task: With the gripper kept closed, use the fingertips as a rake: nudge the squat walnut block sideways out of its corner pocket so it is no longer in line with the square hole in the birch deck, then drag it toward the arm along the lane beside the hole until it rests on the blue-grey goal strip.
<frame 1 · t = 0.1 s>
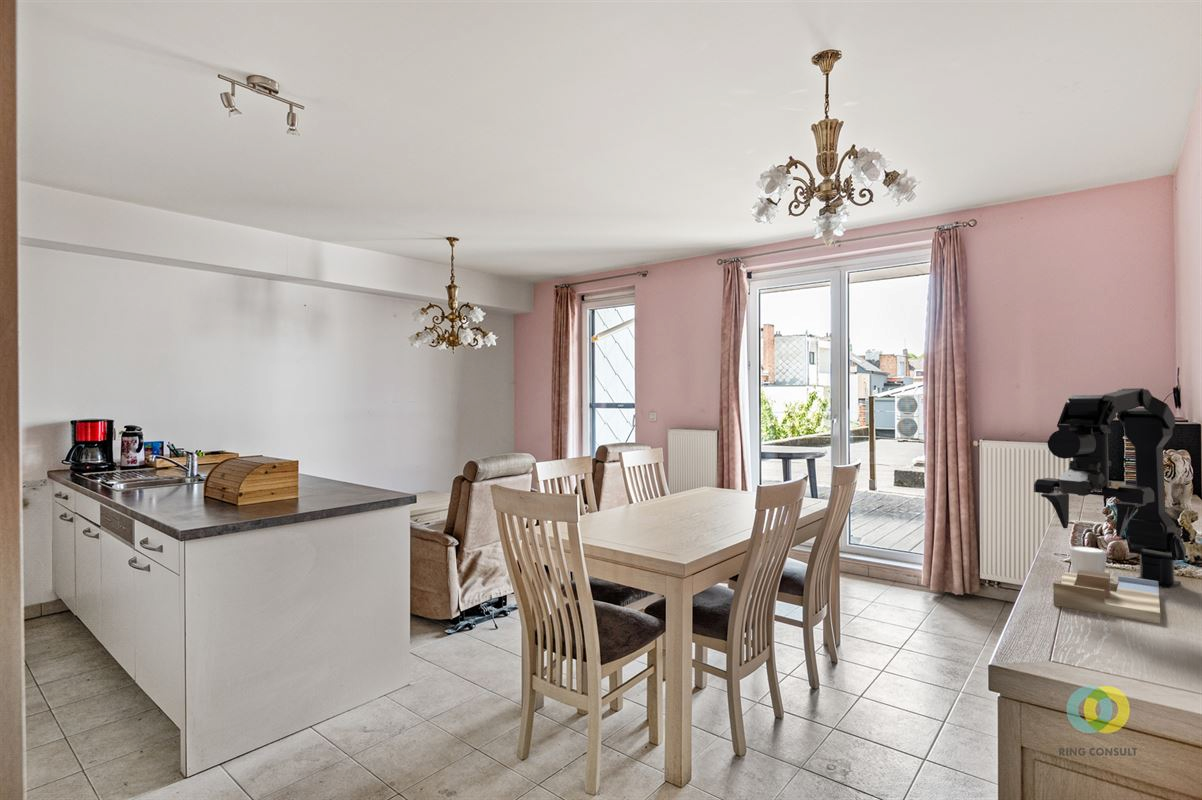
hand: (1091, 532, 125), 15 cm above the sideboard, fingers open, 9 cm apart
birch deck: (1107, 599, 127), on the sideboard
walnut block: (1093, 593, 125), point 2 cm above the sideboard, touching birch deck
goal strip: (1138, 595, 129), on the sideboard
white cylinder: (1088, 580, 141), on the sideboard
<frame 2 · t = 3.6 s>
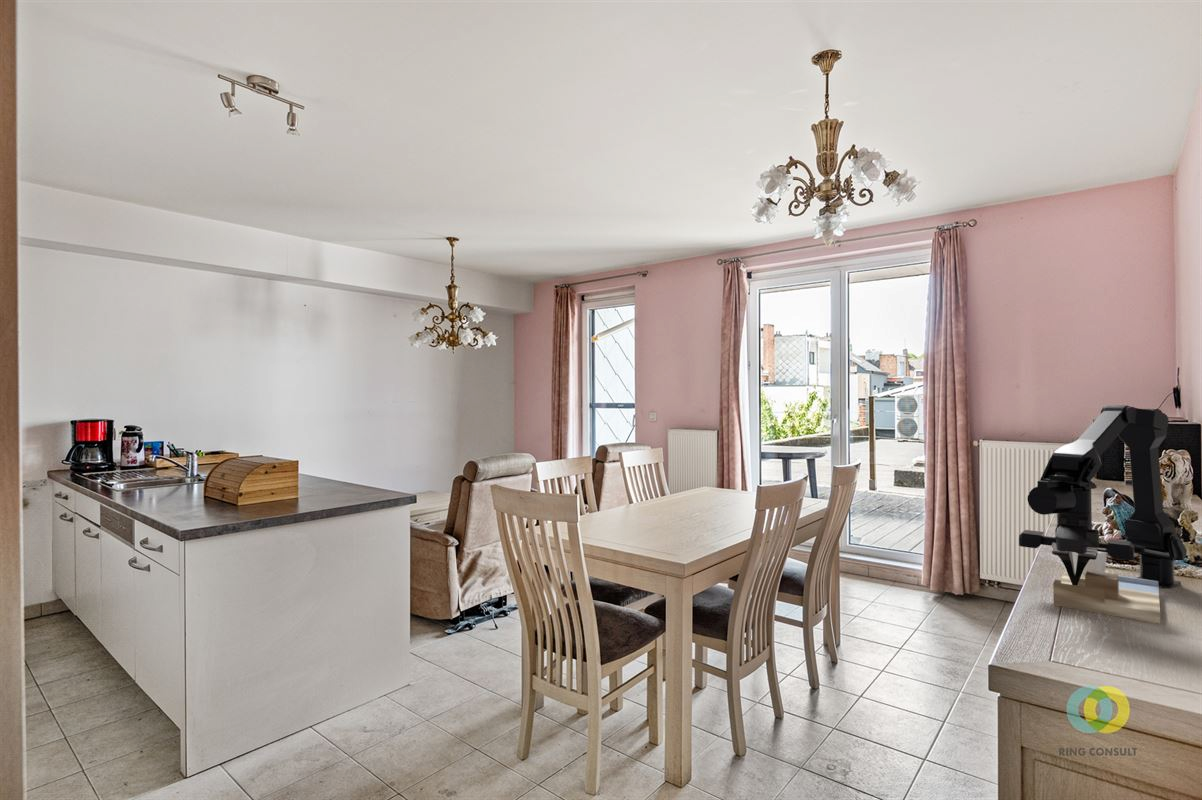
hand: (1075, 585, 127), 3 cm above the sideboard, fingers closed
walnut block: (1102, 594, 124), point 2 cm above the sideboard, touching birch deck, gripper
everything else where it was.
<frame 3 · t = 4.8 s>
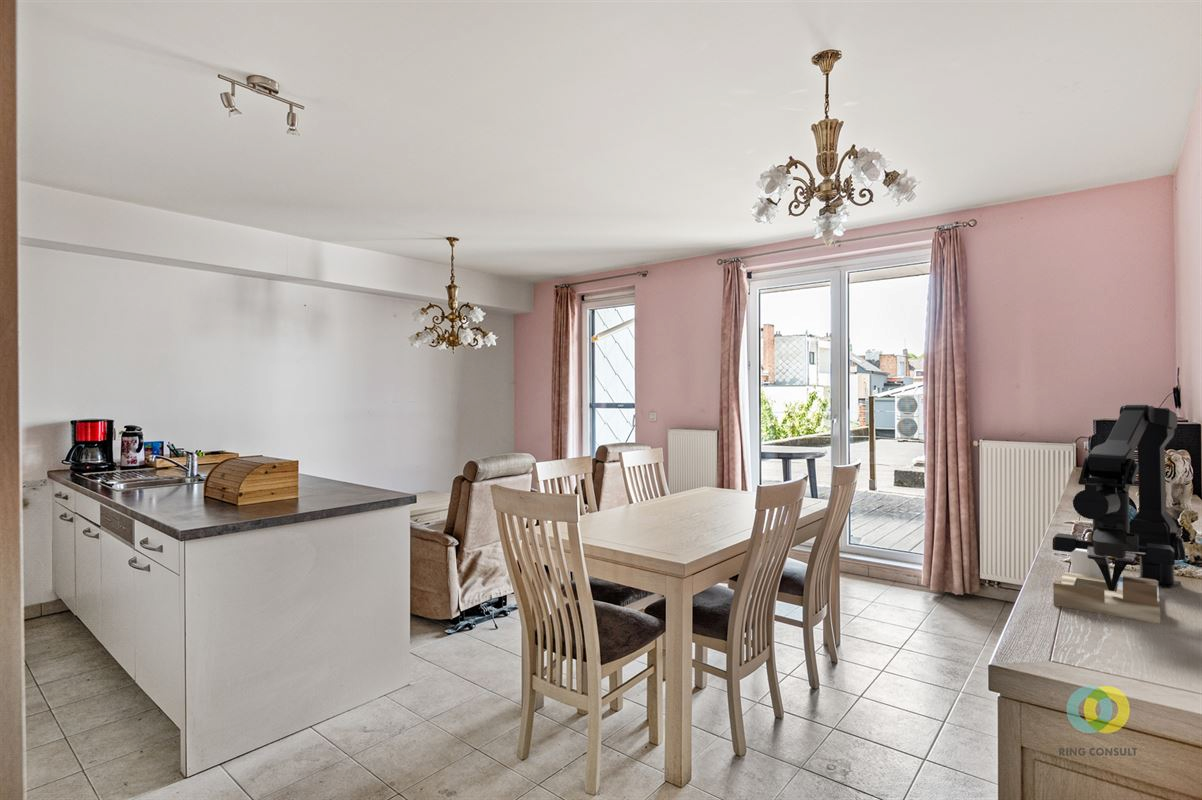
hand: (1111, 590, 123), 3 cm above the sideboard, fingers closed
walnut block: (1140, 600, 120), point 2 cm above the sideboard, touching birch deck, gripper
everything else where it was.
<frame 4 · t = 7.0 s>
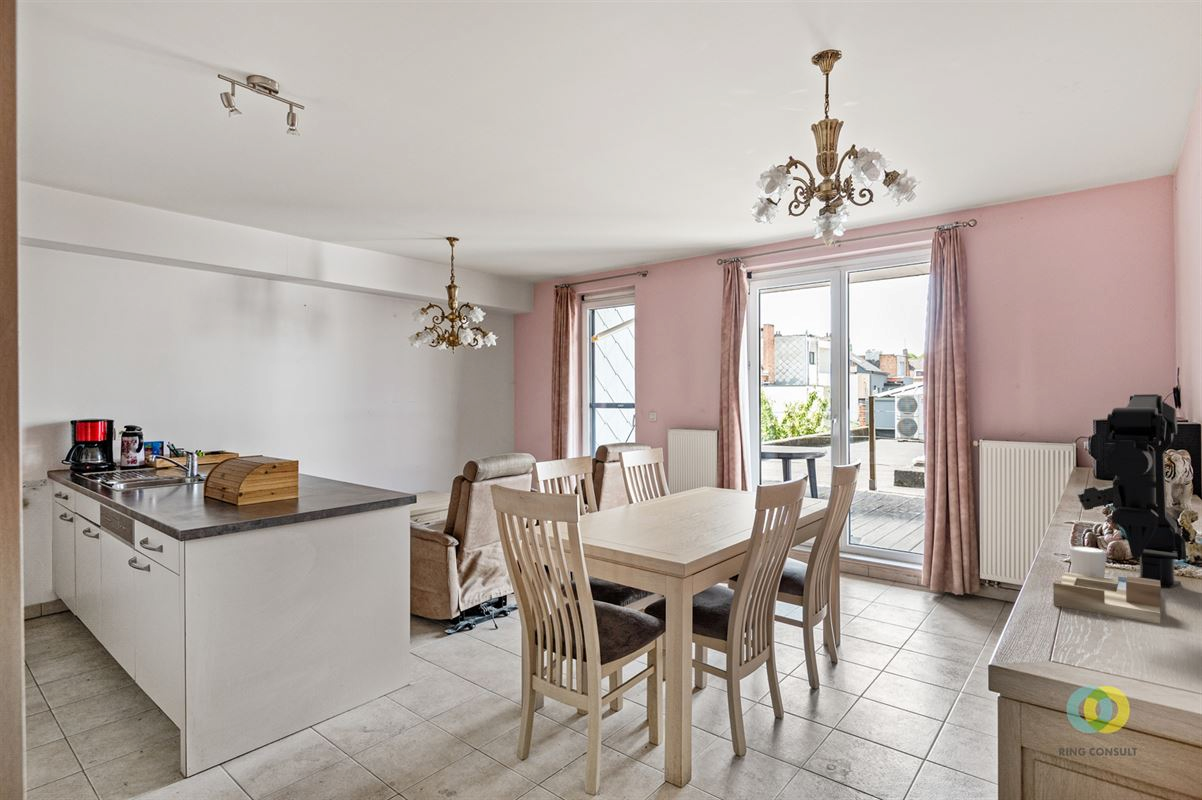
hand: (1136, 557, 114), 12 cm above the sideboard, fingers closed
walnut block: (1143, 601, 120), point 2 cm above the sideboard, touching birch deck
everything else where it was.
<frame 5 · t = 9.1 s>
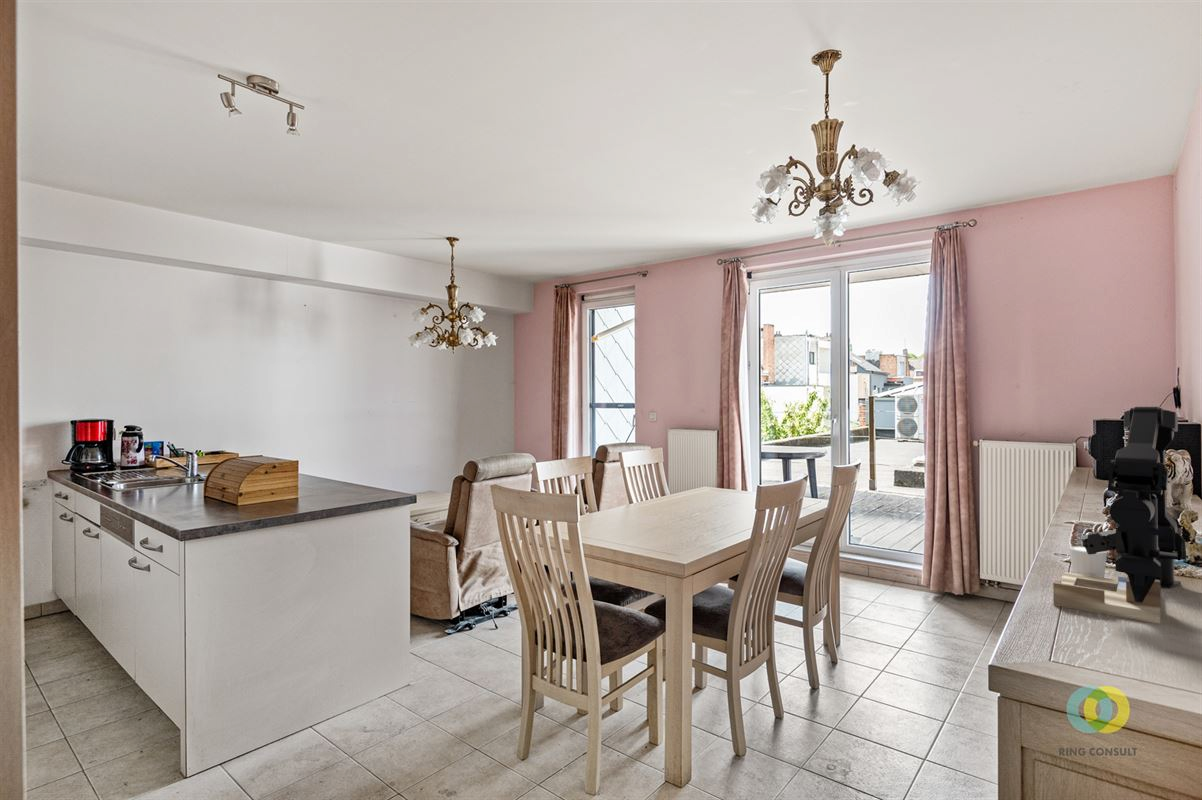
hand: (1138, 601, 117), 3 cm above the sideboard, fingers closed
walnut block: (1143, 601, 120), point 2 cm above the sideboard, touching birch deck, gripper
everything else where it was.
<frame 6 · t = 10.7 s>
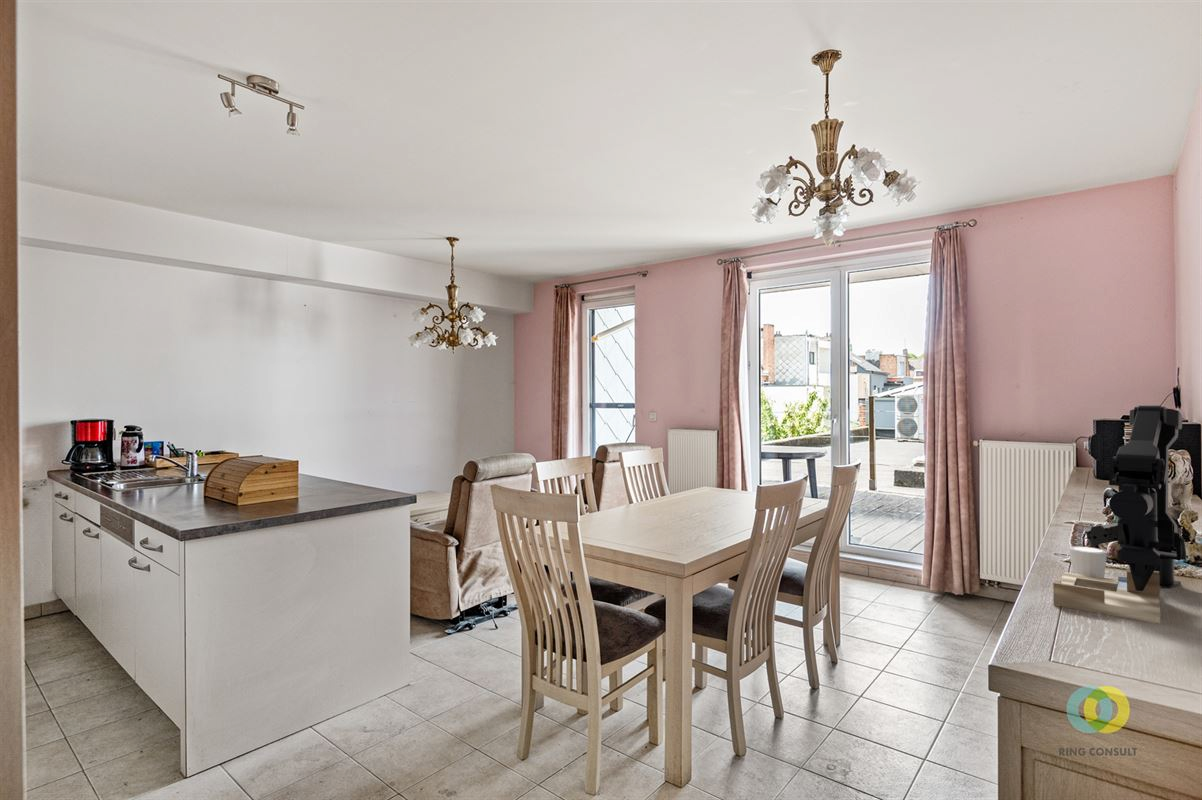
hand: (1139, 590, 123), 3 cm above the sideboard, fingers closed
walnut block: (1143, 590, 126), point 2 cm above the sideboard, touching gripper
everything else where it was.
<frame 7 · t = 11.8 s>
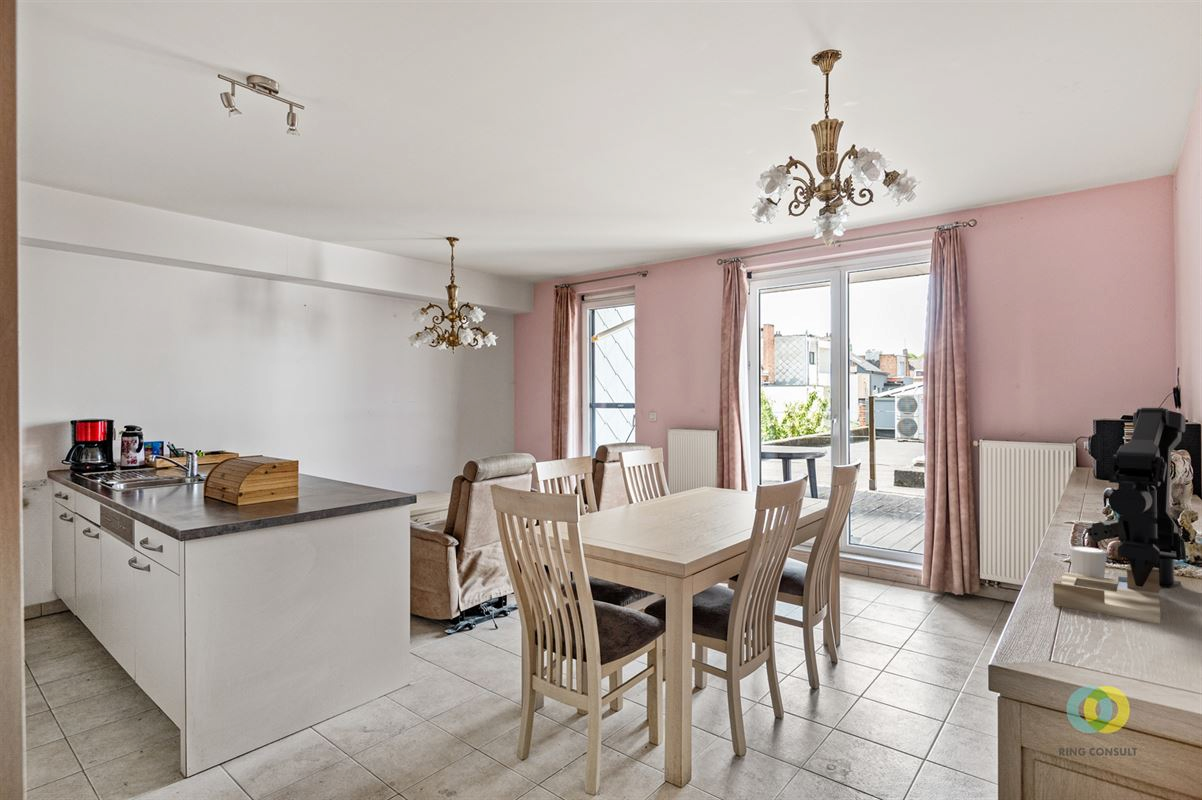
hand: (1139, 586, 126), 3 cm above the sideboard, fingers closed
walnut block: (1143, 587, 129), point 2 cm above the sideboard, touching goal strip, gripper
everything else where it was.
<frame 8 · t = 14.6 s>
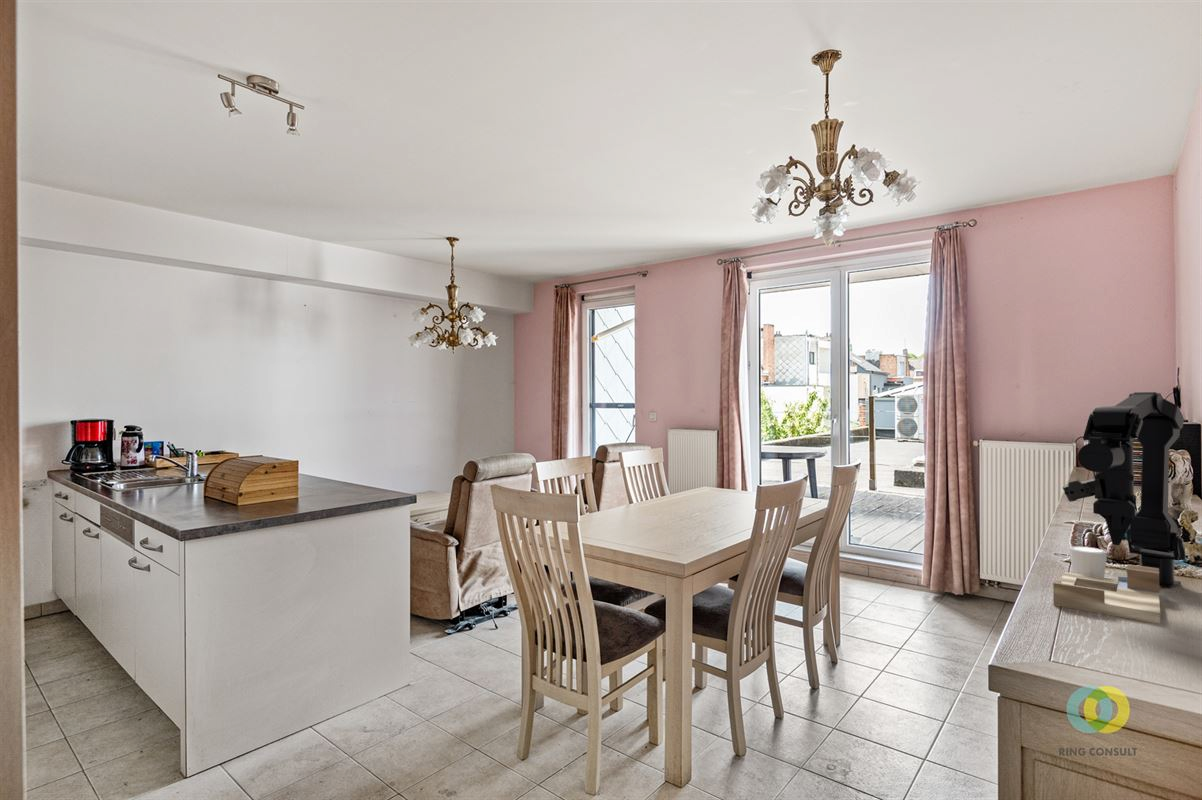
hand: (1115, 544, 125), 12 cm above the sideboard, fingers closed
walnut block: (1143, 587, 129), point 2 cm above the sideboard, touching goal strip
everything else where it was.
at the end: walnut block 1.0 cm from the goal strip (horizontally); walnut block point 1.8 cm above the sideboard; walnut block tilted 0° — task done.
